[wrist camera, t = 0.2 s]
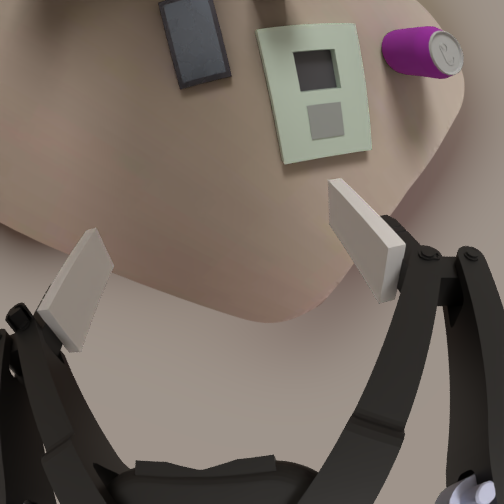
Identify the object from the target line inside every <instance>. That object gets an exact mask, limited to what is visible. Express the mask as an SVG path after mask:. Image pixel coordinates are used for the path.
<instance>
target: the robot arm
mask: <svg viewBox="0 0 504 504" xmlns="http://www.w3.org/2000/svg"><path fill="white" fill-rule="evenodd" d="M328 196H329V225H330V226H331V228H332V229H333V231H334V232H335V234H336V235H337V237H338V238H339V240H340V241H341V243H342V244H343V246H344V247H345V249H346V251H347V252H348V254H349V255H350V257H351V258H352V260H353V262H354V263H355V264H356V266H357V268H358V270H359V271H360V273H361V274H362V276H363V278H364V279H365V281H366V283H367V284H368V286H369V288H370V289H371V291H372V293H373V294H374V296H375V298H376V300H377V301H378V303H379V304H380V303H384V302H387V301H391V300H394V299H395V296H396V292H397V289H398V290H399V291H400V293H401V294H400V296H399V300H398V303H397V306H396V309H395V312H394V315H393V318H392V322H391V325H390V327H389V330H388V333H387V335H386V338H385V341H384V344H383V346H382V349H381V351H380V354H379V357H378V359H377V362H376V364H375V366H374V369H373V371H372V374H371V376H370V378H369V380H368V383H367V385H366V387H365V390H364V392H363V394H362V396H361V398H360V400H359V402H358V405H357V407H356V408H355V411H354V413H353V414H352V416H351V417H350V419H349V421H348V422H347V424H346V426H345V428H344V430H343V432H342V433H341V435H340V437H339V439H338V441H337V443H336V444H335V446H334V448H333V450H332V451H331V453H330V455H329V456H328V458H327V460H326V462H325V463H324V465H323V466H322V468H321V469H320V471H319V473H318V472H317V471H315V470H313V469H311V468H309V467H306V466H303V465H300V464H296V463H293V462H287V461H277V460H276V459H275V456H274V455H269V456H261V457H255V458H246V459H237V460H234V461H231V462H228V463H224V464H221V465H218V466H215V467H211V468H208V469H204V470H196V469H192V468H187V467H183V466H179V465H175V464H171V463H168V462H152V461H137V460H136V466H135V468H133V469H129V468H128V467H127V466H126V465H125V464H124V463H123V462H122V461H121V460H120V458H119V457H118V456H117V454H116V452H115V451H114V449H113V448H112V446H111V445H110V443H109V441H108V440H107V438H106V437H105V435H104V433H103V432H102V430H101V428H100V427H99V425H98V423H97V421H96V420H95V418H94V416H93V414H92V412H91V410H90V409H89V407H88V405H87V403H86V401H85V399H84V397H83V395H82V393H81V391H80V389H79V387H78V385H77V383H76V380H75V378H74V376H73V374H72V372H71V369H70V367H69V365H68V362H67V360H66V358H65V355H64V354H63V353H62V352H61V347H62V344H63V345H64V347H65V348H66V349H67V350H68V351H69V352H81V351H82V347H83V345H84V342H85V339H86V336H87V333H88V330H89V327H90V325H91V322H92V319H93V316H94V314H95V311H96V309H97V306H98V303H99V301H100V298H101V296H102V293H103V291H104V288H105V286H106V284H107V281H108V279H109V276H110V274H111V272H112V270H113V267H114V264H113V262H112V260H111V258H110V256H109V254H108V252H107V250H106V248H105V246H104V243H103V241H102V239H101V237H100V235H99V232H98V230H97V228H94V229H90V230H86V232H85V233H84V234H83V236H82V237H81V239H80V240H79V242H78V243H77V245H76V246H75V248H74V249H73V251H72V252H71V254H70V255H69V257H68V258H67V260H66V261H65V263H64V265H63V266H62V268H61V270H60V271H59V273H58V274H57V276H56V278H55V280H54V281H53V283H52V284H51V285H50V286H49V288H48V290H47V291H46V294H45V295H44V297H43V300H42V301H41V302H40V304H39V306H38V308H37V309H36V311H35V313H34V315H32V314H31V312H30V311H29V310H28V308H27V307H26V305H25V304H24V303H18V304H17V305H15V306H14V307H13V308H12V309H10V311H9V312H8V314H7V316H6V319H5V320H6V322H7V323H8V324H9V326H10V327H11V328H12V329H13V331H14V332H15V333H14V334H12V335H9V334H8V333H7V332H6V330H5V329H0V504H56V499H55V495H56V497H57V499H58V500H59V502H60V504H373V503H374V501H375V499H376V498H377V496H378V494H379V492H380V490H381V488H382V487H383V485H384V483H385V481H386V479H387V477H388V475H389V472H390V470H391V468H392V466H393V464H394V462H395V460H396V457H397V455H398V453H399V450H400V448H401V445H402V443H403V440H404V436H405V433H404V428H405V425H406V422H407V419H408V417H409V414H410V411H411V408H412V405H413V402H414V399H415V396H416V393H417V390H418V386H419V383H420V380H421V376H422V373H423V369H424V365H425V361H426V357H427V353H428V349H429V344H430V340H431V335H432V330H433V325H434V320H435V314H436V308H437V306H443V312H444V319H445V327H446V335H447V345H448V357H449V375H450V424H449V425H450V426H449V441H448V452H447V465H446V466H447V467H446V487H447V488H446V489H444V490H443V491H442V492H441V493H440V495H439V496H438V498H437V500H436V502H435V504H504V309H503V306H502V303H501V299H500V296H499V293H498V291H497V288H496V285H495V282H494V280H493V277H492V274H491V272H490V269H489V267H488V264H487V262H486V259H485V257H484V255H483V254H482V253H481V252H480V251H479V250H478V249H476V248H474V247H469V246H463V247H461V248H459V250H458V252H457V255H456V257H442V255H441V254H440V252H439V251H438V250H436V249H434V248H432V247H430V246H424V245H422V246H421V245H420V244H419V243H418V242H417V241H416V240H415V239H414V238H413V237H412V236H411V235H410V233H409V232H407V231H406V230H405V228H404V227H403V226H401V224H400V223H399V222H398V221H397V220H396V219H394V218H392V217H390V216H388V215H382V216H379V215H378V214H377V213H376V212H375V211H374V210H373V209H372V208H371V207H370V206H369V205H368V204H367V203H366V202H365V201H364V200H363V199H362V198H361V197H360V196H359V195H358V194H357V193H356V192H355V191H354V190H353V189H352V188H351V187H350V186H349V185H348V184H347V183H346V182H345V181H343V180H342V179H341V178H338V179H331V180H328ZM10 369H11V370H12V371H13V372H14V373H15V377H13V375H12V374H11V372H10ZM43 444H44V446H45V449H46V452H47V453H45V452H44V446H43ZM54 492H55V495H54Z"/></svg>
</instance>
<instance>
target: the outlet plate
mask: <svg viewBox="0 0 504 504" xmlns="http://www.w3.org/2000/svg"><path fill="white" fill-rule="evenodd" d="M255 34H256V38H257V43H258V47H259V51H260V55H261V60H262V64H263V69H264V73H265V78H266V82H267V87H268V92H269V97H270V101H271V106H272V111H273V116H274V121H275V126H276V132H277V137H278V142H279V147H280V153H281V158H282V162H283V163H284V164H290V163H295V162H300V161H306V160H311V159H317V158H322V157H328V156H334V155H340V154H347V153H353V152H360V151H367V150H372V143H371V129H370V118H369V108H368V99H367V91H366V83H365V76H364V69H363V63H362V57H361V51H360V46H359V41H358V36H357V31H356V26H355V24H352V23H323V24H302V25H289V26H279V27H271V28H263V29H257V30H256V31H255Z"/></svg>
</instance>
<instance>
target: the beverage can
mask: <svg viewBox="0 0 504 504" xmlns="http://www.w3.org/2000/svg"><path fill="white" fill-rule="evenodd" d="M382 53H383V56H384V58H385V60H386V62H387V64H388V65H389V66H390V67H391V68H392V69H393V70H395V71H397V72H399V73H402V74H406V75H415V76H424V77H431V78H438V79H444V78H448V77H450V76H452V75H455V74H457V73H459V72H460V70H461V69H462V66H463V53H462V49H461V47H460V44H459V43H458V41H457V40H456V38H455V37H453V36H452V35H451V34H450V33H448V32H446V31H443V30H440V29H438V28H436V27H431V26H426V27H416V28H407V29H400V30H394V31H392V32H389V33H387V35H386V36H385V37H384V39H383V42H382Z"/></svg>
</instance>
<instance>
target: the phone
mask: <svg viewBox="0 0 504 504" xmlns="http://www.w3.org/2000/svg"><path fill="white" fill-rule="evenodd" d="M158 4H159V8H160V12H161V16H162V20H163V24H164V28H165V32H166V36H167V40H168V44H169V48H170V52H171V56H172V60H173V64H174V68H175V71H176V75H177V79H178V83H179V86H180V89H184V88H187V87H191V86H194V85H198V84H201V83H205V82H209V81H213V80H217V79H222V78H226V77H230V76H232V75H231V71H230V67H229V63H228V58H227V54H226V50H225V46H224V42H223V38H222V34H221V30H220V26H219V22H218V18H217V14H216V10H215V7H214V3H213V0H165V1H162V2H159V3H158Z"/></svg>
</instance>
